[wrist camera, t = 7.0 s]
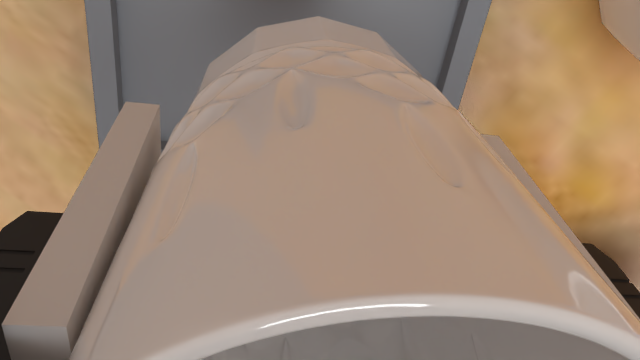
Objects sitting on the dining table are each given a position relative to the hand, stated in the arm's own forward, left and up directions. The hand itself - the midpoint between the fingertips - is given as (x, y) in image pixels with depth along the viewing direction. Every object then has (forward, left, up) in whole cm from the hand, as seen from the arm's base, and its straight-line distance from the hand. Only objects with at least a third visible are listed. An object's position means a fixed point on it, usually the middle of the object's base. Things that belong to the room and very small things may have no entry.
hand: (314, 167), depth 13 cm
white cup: (0, 0, -2) cm, 2 cm away
